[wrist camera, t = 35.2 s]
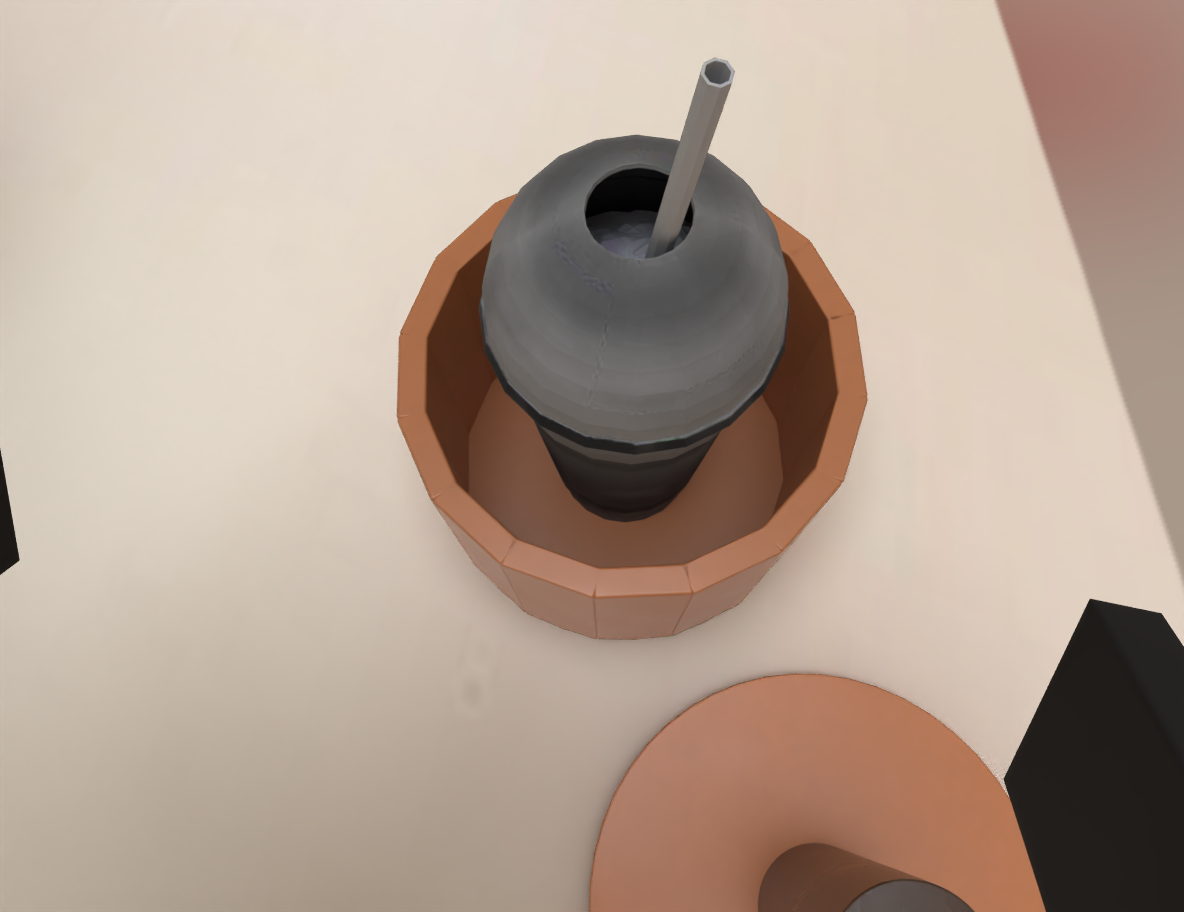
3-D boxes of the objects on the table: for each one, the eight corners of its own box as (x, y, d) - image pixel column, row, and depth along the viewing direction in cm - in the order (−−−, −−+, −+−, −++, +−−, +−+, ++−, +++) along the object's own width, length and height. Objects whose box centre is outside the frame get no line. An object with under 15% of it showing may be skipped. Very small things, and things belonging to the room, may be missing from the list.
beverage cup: (602, 329, 34) (596, -217, 15) (767, 438, 33) (992, -14, 14) (479, 481, 32) (297, 79, 13) (649, 604, 31) (717, 350, 12)
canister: (375, 473, 33) (301, 379, 25) (612, 244, 36) (613, 94, 28) (638, 720, 30) (649, 704, 22) (872, 451, 33) (958, 349, 25)
